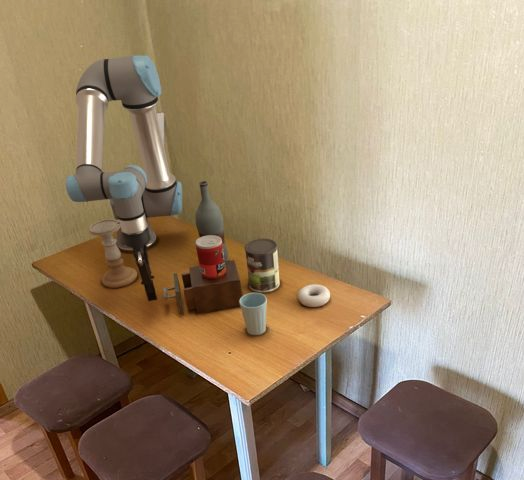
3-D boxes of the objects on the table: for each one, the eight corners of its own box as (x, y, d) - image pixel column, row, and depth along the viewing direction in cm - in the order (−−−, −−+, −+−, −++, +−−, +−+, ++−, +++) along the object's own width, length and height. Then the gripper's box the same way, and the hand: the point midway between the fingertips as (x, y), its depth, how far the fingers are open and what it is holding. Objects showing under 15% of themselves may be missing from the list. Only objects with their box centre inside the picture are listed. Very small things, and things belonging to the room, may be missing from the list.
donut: (336, 298, 163) (312, 287, 169) (337, 289, 161) (312, 278, 167) (315, 313, 158) (291, 301, 164) (315, 303, 156) (290, 292, 162)
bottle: (213, 275, 181) (199, 190, 162) (198, 266, 187) (183, 183, 168) (234, 264, 185) (223, 181, 167) (219, 256, 191) (207, 174, 173)
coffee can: (265, 296, 168) (261, 256, 159) (242, 286, 173) (237, 248, 165) (286, 282, 173) (284, 243, 164) (263, 273, 179) (259, 235, 170)
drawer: (166, 315, 162) (161, 294, 157) (165, 296, 171) (160, 275, 166) (223, 305, 164) (219, 284, 159) (218, 287, 173) (215, 266, 168)
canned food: (223, 279, 159) (218, 247, 152) (197, 279, 161) (191, 246, 154) (229, 267, 165) (224, 234, 158) (204, 266, 166) (199, 234, 160)
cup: (261, 340, 150) (257, 309, 143) (238, 333, 153) (234, 303, 147) (274, 326, 155) (271, 295, 148) (251, 320, 158) (248, 290, 152)
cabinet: (197, 313, 163) (191, 287, 157) (193, 293, 173) (188, 267, 167) (243, 305, 164) (240, 279, 159) (237, 285, 174) (234, 259, 168)
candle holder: (106, 292, 178) (88, 237, 166) (99, 276, 187) (82, 223, 175) (141, 281, 182) (127, 227, 169) (132, 266, 191) (118, 214, 178)
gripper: (122, 222, 155) (140, 290, 169) (120, 241, 144) (140, 312, 159) (147, 218, 155) (163, 286, 170) (148, 237, 145) (165, 308, 160)
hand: (152, 299), depth 164 cm, fingers closed
